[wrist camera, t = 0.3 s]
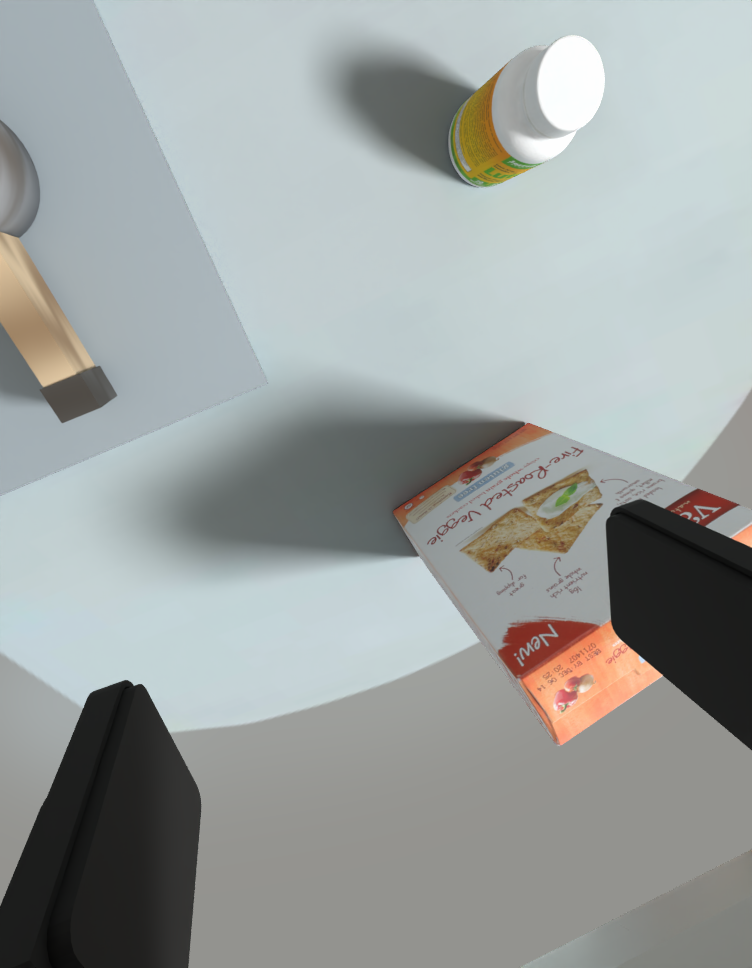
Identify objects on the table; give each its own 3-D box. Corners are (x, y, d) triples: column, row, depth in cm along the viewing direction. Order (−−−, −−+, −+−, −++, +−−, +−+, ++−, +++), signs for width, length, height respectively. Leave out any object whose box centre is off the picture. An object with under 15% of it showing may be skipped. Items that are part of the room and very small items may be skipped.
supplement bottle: (457, 200, 34) (535, 161, 25) (436, 110, 32) (513, 33, 23) (525, 174, 35) (623, 128, 26) (508, 85, 32) (610, 1, 24)
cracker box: (525, 416, 41) (774, 509, 22) (549, 472, 44) (791, 599, 25) (386, 507, 40) (519, 683, 21) (418, 559, 43) (563, 757, 24)
